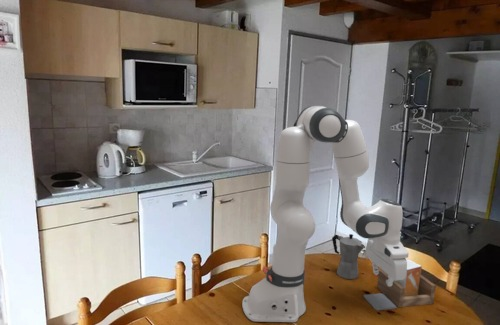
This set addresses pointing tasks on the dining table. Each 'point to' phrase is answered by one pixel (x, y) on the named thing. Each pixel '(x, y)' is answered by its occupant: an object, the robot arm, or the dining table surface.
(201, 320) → the dining table surface
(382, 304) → the mat
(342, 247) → the coffeepot
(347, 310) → the dining table surface
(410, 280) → the small box
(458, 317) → the dining table surface
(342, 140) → the robot arm
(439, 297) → the dining table surface
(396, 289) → the open wooden box
